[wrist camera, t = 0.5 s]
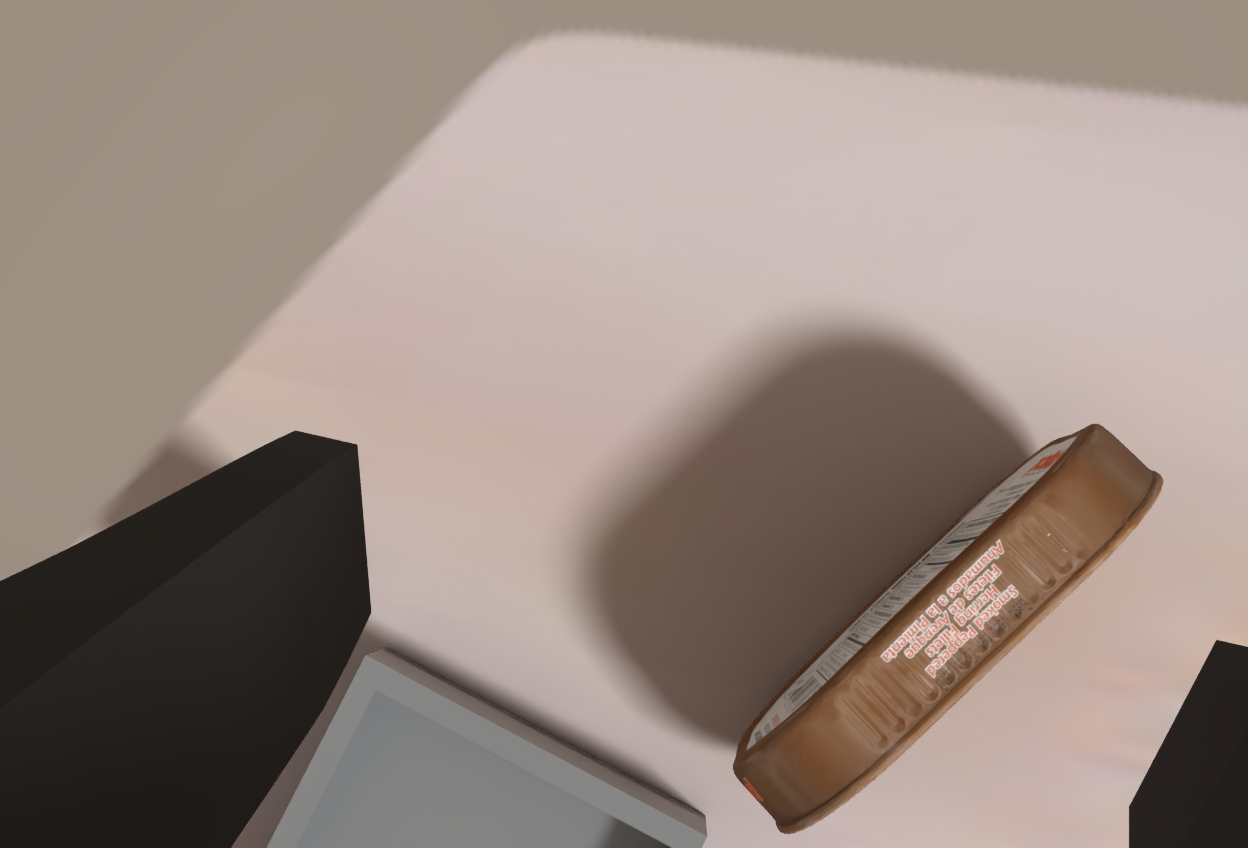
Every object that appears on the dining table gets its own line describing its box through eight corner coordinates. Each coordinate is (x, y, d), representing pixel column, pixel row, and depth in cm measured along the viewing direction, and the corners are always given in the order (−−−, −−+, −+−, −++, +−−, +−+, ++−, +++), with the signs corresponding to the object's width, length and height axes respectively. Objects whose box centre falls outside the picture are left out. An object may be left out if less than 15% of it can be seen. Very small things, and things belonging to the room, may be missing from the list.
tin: (775, 802, 37) (804, 884, 28) (709, 730, 37) (718, 789, 28) (1103, 489, 37) (1228, 478, 29) (1036, 421, 37) (1139, 389, 29)
